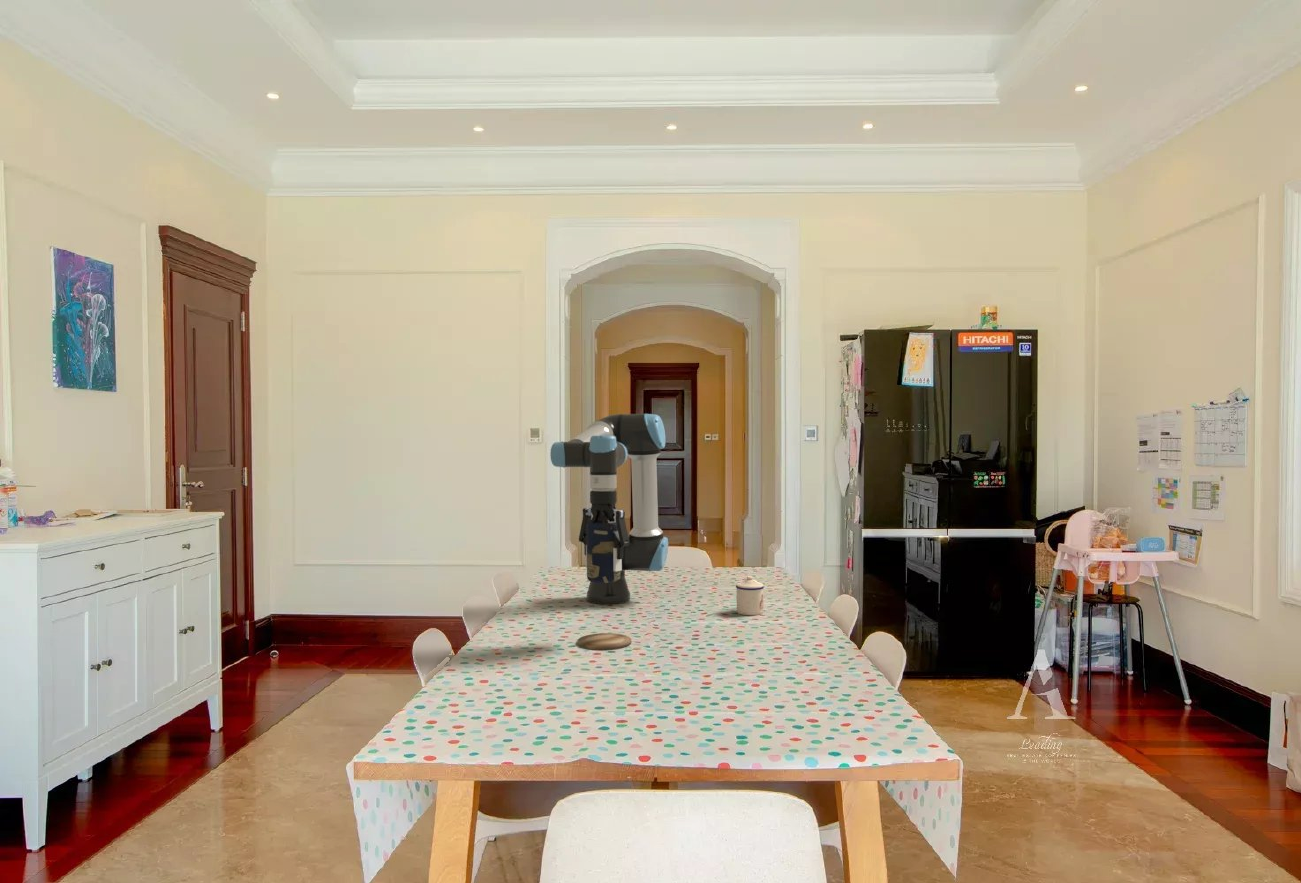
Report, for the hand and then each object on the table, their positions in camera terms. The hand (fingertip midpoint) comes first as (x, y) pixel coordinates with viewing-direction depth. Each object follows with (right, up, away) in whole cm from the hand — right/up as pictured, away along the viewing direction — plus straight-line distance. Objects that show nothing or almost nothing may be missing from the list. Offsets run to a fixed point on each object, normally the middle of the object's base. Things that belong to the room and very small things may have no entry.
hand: (603, 569), depth 236 cm
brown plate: (0, -20, -1) cm, 21 cm away
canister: (0, -4, 0) cm, 4 cm away
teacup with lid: (+45, -19, +36) cm, 61 cm away
